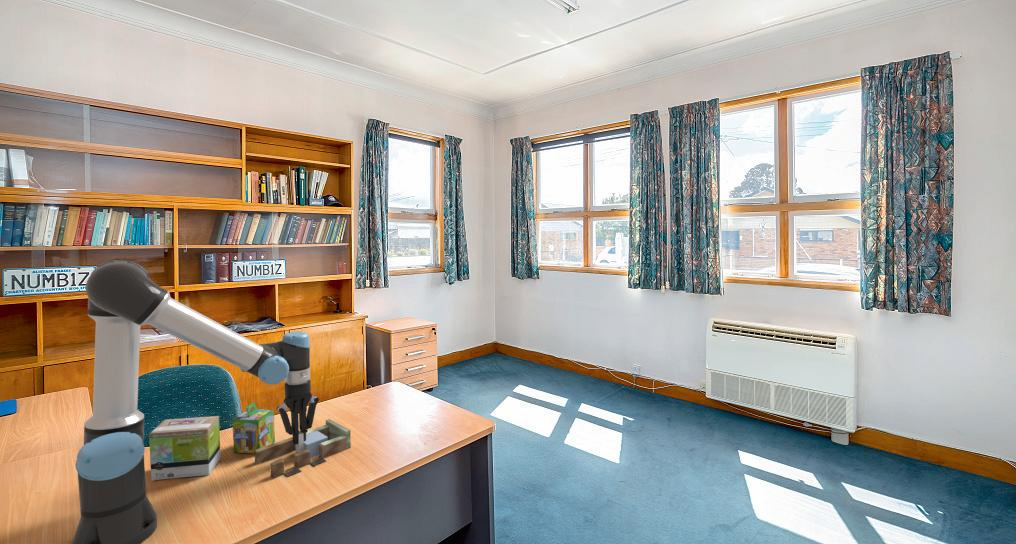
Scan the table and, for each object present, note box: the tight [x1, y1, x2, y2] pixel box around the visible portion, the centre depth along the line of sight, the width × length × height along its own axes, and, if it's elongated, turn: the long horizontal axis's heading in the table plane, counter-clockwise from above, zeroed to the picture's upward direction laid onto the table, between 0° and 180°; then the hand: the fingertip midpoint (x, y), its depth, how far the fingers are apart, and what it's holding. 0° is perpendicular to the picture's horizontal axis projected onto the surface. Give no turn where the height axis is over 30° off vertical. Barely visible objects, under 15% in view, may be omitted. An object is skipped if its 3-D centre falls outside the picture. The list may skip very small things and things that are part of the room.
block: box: [304, 431, 329, 459], centre depth 148 cm, size 7×7×5 cm
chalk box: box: [231, 402, 276, 455], centre depth 149 cm, size 9×9×15 cm
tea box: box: [148, 415, 221, 482], centre depth 135 cm, size 15×10×15 cm
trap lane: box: [254, 418, 352, 479], centre depth 145 cm, size 25×16×6 cm, turn 140°
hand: (299, 451), depth 145 cm, fingers closed
